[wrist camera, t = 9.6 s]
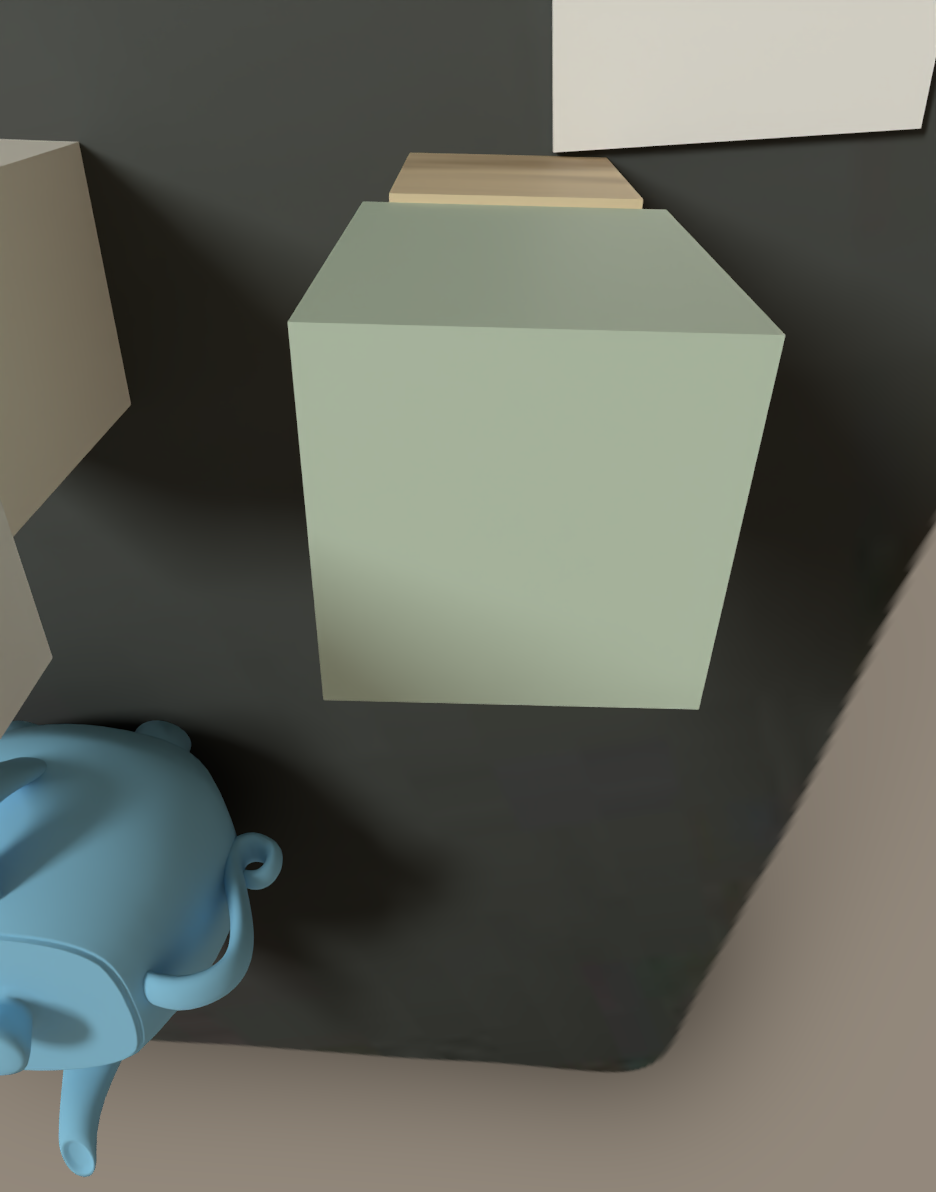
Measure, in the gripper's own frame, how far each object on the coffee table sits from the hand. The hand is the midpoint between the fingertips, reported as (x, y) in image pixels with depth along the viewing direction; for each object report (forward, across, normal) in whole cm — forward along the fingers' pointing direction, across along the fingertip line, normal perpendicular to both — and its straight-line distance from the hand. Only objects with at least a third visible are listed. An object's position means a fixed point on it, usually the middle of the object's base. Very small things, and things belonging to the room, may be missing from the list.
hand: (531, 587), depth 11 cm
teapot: (+15, -15, -22) cm, 30 cm away
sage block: (+9, 0, 0) cm, 9 cm away
